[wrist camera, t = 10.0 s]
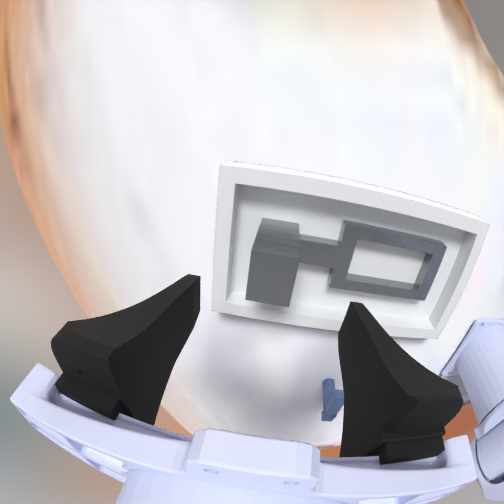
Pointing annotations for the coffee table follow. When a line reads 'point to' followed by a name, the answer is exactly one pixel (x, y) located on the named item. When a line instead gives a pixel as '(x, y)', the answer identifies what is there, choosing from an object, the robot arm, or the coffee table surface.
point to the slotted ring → (332, 261)
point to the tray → (328, 226)
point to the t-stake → (331, 400)
